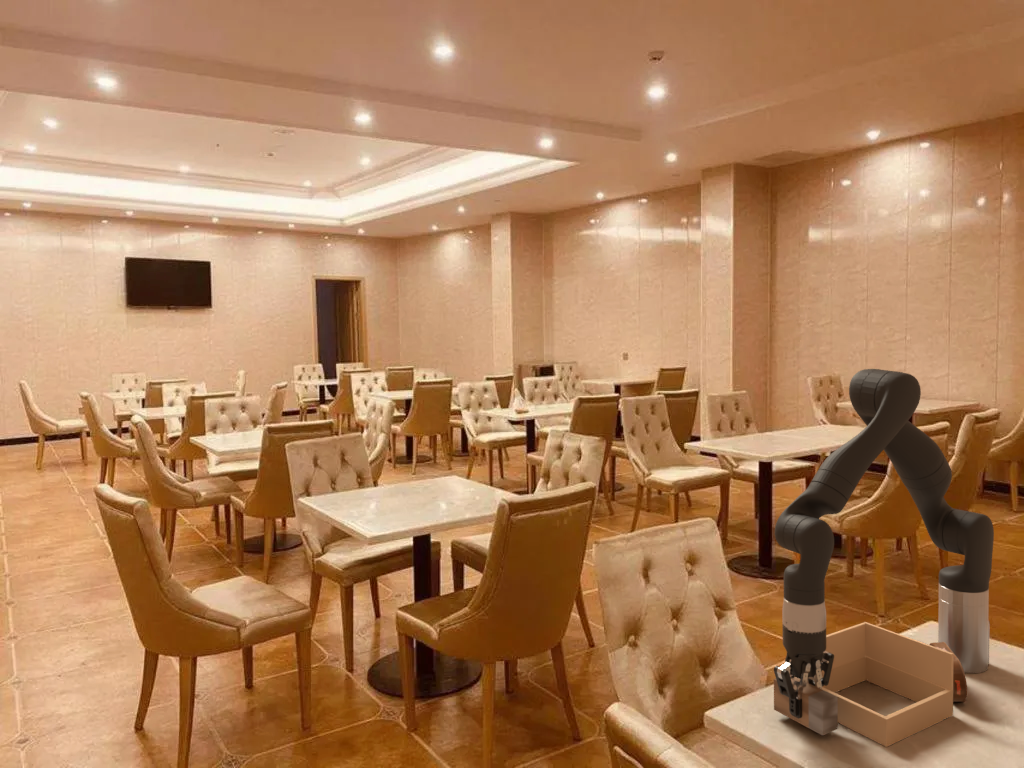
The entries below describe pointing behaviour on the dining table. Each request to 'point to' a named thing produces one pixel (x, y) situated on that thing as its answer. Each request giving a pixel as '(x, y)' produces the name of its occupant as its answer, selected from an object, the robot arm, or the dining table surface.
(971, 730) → the dining table surface
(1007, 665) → the dining table surface
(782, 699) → the box
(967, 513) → the robot arm
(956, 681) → the tin
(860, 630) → the carton
